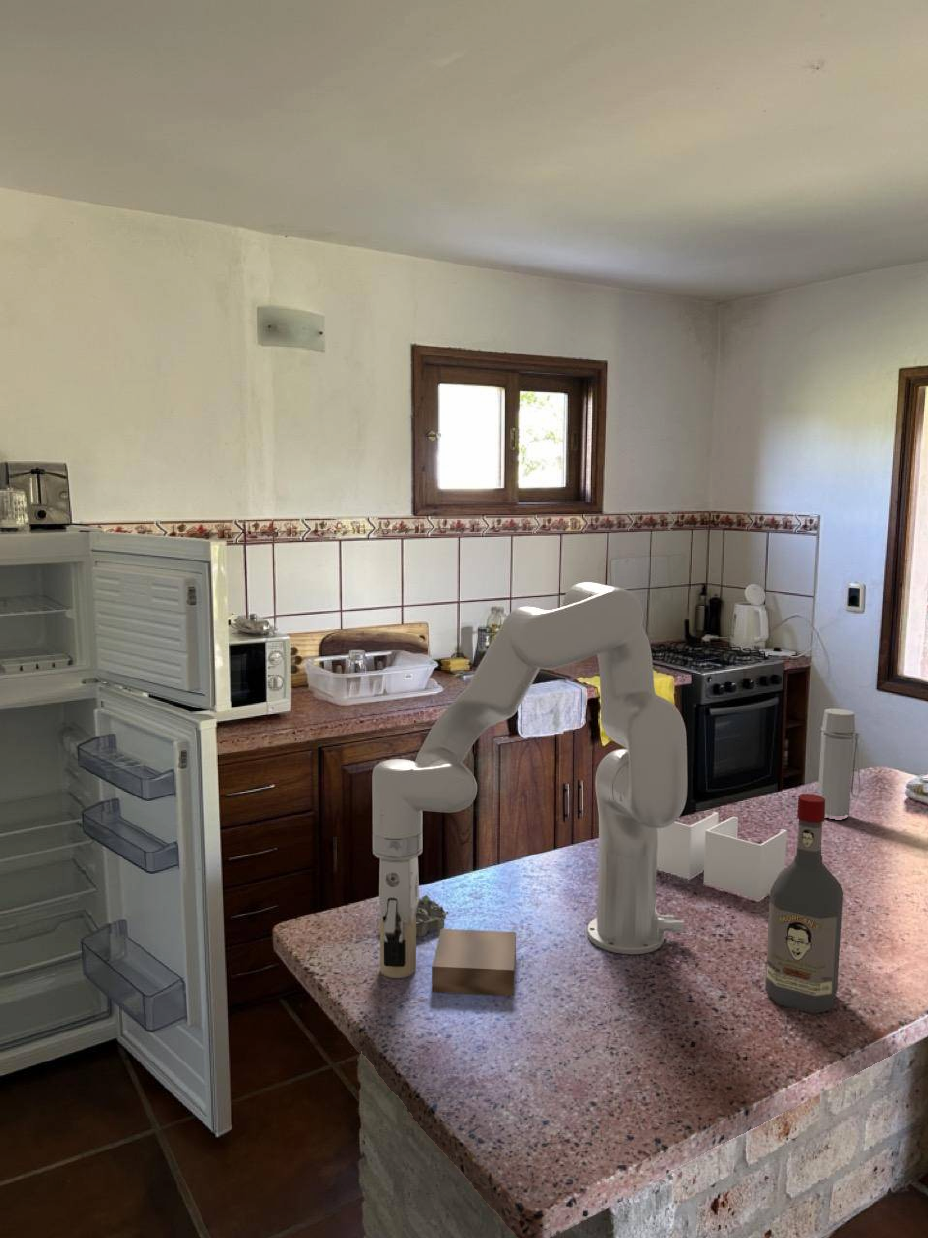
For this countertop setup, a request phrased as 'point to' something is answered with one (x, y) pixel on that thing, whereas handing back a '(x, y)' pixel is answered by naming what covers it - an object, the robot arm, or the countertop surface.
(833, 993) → the liquor
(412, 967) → the candle
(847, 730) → the water bottle
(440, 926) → the egg carton
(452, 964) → the plinth
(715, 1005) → the countertop surface
